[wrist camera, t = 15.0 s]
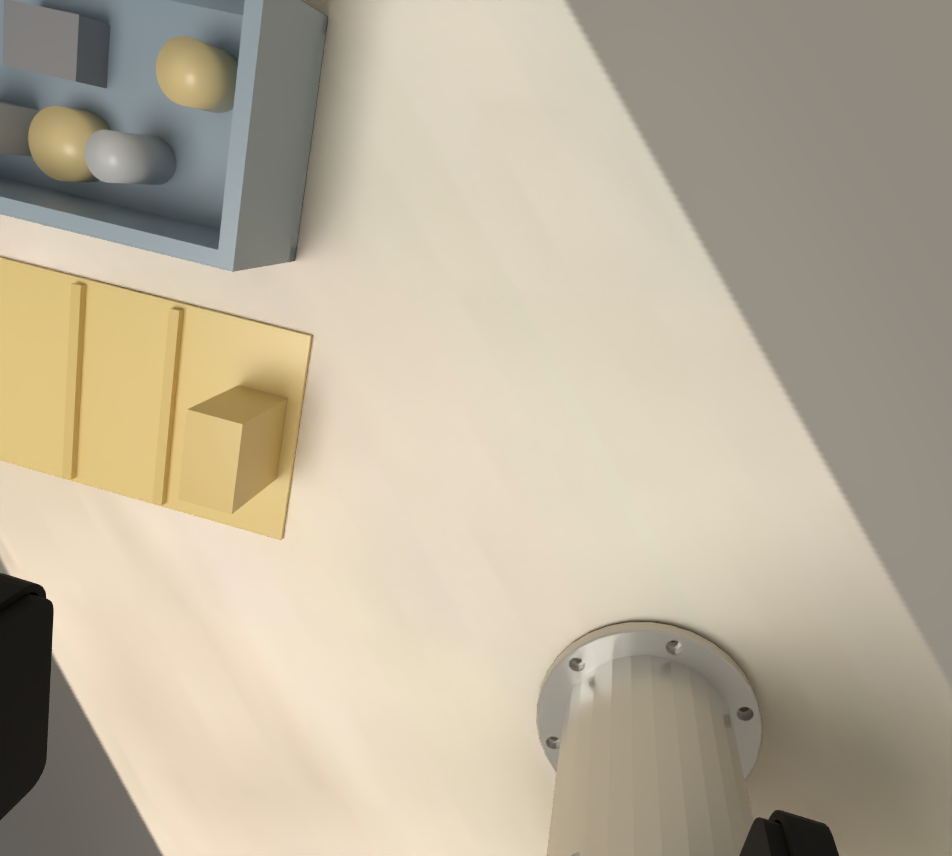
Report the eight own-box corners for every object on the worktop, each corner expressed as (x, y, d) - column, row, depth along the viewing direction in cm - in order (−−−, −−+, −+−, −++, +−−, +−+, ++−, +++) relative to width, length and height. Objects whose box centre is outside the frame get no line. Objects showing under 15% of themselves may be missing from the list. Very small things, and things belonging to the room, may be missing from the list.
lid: (316, 334, 43) (267, 354, 37) (286, 534, 47) (237, 582, 41) (-15, 250, 46) (-111, 258, 40) (-17, 448, 49) (-105, 482, 43)
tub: (328, 17, 38) (265, -23, 31) (294, 260, 42) (232, 271, 35) (-35, -58, 40) (-165, -109, 34) (-37, 180, 44) (-154, 175, 37)
